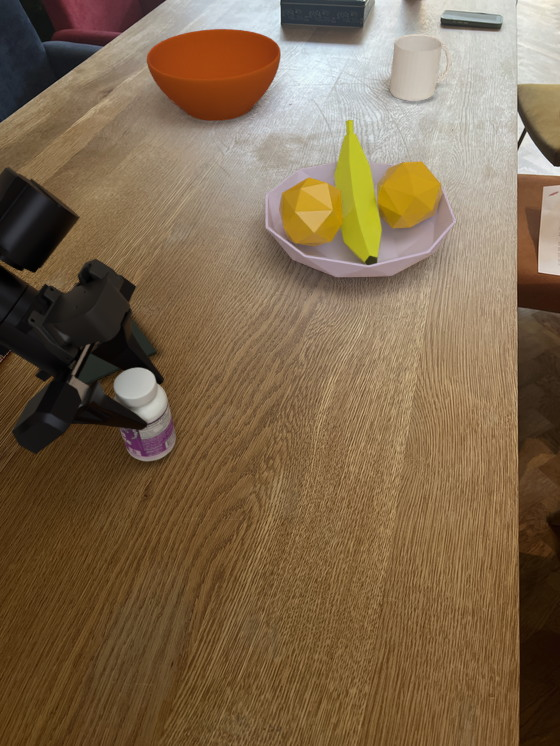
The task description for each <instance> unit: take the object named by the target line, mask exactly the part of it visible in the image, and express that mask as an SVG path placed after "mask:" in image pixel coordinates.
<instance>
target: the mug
mask: <svg viewBox="0 0 560 746" xmlns="http://www.w3.org/2000/svg"><path fill="white" fill-rule="evenodd" d="M393 43H394V44H393V52H392V53H393V55H392V63H391V70H390V71H391V73H390V80H389V82H390V83H389V92H390V94H391V95H392V96H393V97H395V98H396V99H399V100H402V101H408V102H421V101H426V100H428V99H430V98H431V97H433V96H434V94H435V93H436V86H437V83H441V82H442V81H443V80H445V79H446V78H447V77H448V76H449V75H450V73H451V68H452V55H451V52H450V50H449V48H448V46H447V45H446V44H444V43H443V41H442V40H441V39H440V38H438V37H436V36H433V35H429V34H421V33H412V34H405V35H401V36H398V37H397V38H395V40H394V42H393ZM442 50H443V51H444V54H445V57H446V66H445V70H444V71H443V72H442V73H441V74H440V75H439V76H438V74H439V68H440V62H441V55H442Z"/></svg>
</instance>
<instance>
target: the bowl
mask: <svg viewBox="0 0 560 746" xmlns="http://www.w3.org/2000/svg"><path fill="white" fill-rule="evenodd" d="M281 54H282V52H281V47H280V46H279V44H278V43H277V42H276V41H275V40H274V39H272V38H270V37H269V36H266V35H265V34H262V33H258V32H256V31H251V30H243V29H233V28H232V29H231V28H211V29H201V30H195V31H189V32H188V31H187V32H183V33H180V34H178V35H173V36H171V37H168V38H166V39H164V40H162V41H160V42H158V43H156V44H155V45H154V46H153V47H152V48H151V49H150V50H148V53H147V55H146V65H147V68H148V70H149V74H150V75H151V77H152V79H153V81H154V82H155V84H156V85H157V87H158V88H159V89H160V91H161V92H162V93H163V94H164V95H165V96H166V97H167V98H168V99H169V100H170V101H171V102H172V103H174V104H175V105H176V106H177V107H179V108H180V109H181V110H183V112H184V113H186V114H187V115H188V116H189V117H192V118H194V119H197V120H201V121H207V122H221V121H229V120H233V119H237V118H240V117H243V116H244V115H246V114H247V113H249V112H250V111H251V110H252V109H253V108H254V107H255V106H256V104H257V103H258V102H259V101H260V100H261V99H262V98H263V96H264V95H265V94H266V93H267V91H268V90H269V88H270V87H271V85H272V83H273V82H274V79H275V78H276V76H277V73H278V70H279V67H280V62H281V57H282V56H281Z"/></svg>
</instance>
